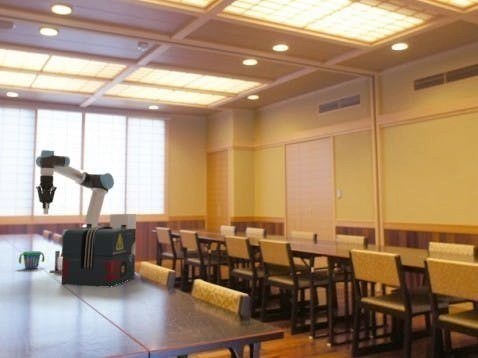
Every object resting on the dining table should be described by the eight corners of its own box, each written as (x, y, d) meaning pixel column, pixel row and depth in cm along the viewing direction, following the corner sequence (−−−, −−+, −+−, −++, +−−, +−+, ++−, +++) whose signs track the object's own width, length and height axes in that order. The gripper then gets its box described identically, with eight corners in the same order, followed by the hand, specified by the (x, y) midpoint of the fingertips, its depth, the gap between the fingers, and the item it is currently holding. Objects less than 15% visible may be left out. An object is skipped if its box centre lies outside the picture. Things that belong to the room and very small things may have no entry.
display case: (108, 274, 278) (110, 214, 280) (117, 271, 288) (118, 213, 290) (126, 275, 275) (128, 214, 277) (134, 272, 286) (136, 214, 288)
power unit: (111, 287, 236) (113, 226, 238) (61, 284, 242) (63, 225, 243) (134, 278, 264) (136, 224, 265) (89, 276, 269) (90, 223, 271)
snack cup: (40, 266, 309) (41, 250, 309) (47, 268, 301) (47, 251, 302) (15, 268, 298) (16, 251, 298) (21, 270, 290) (22, 253, 291)
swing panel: (57, 269, 283) (57, 257, 283) (60, 268, 284) (60, 256, 285) (75, 272, 269) (76, 260, 269) (78, 272, 270) (79, 260, 271)
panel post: (58, 270, 290) (59, 250, 291) (66, 271, 286) (67, 250, 286) (46, 272, 284) (47, 251, 284) (54, 273, 279) (55, 251, 280)
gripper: (52, 176, 299) (51, 213, 298) (33, 174, 288) (32, 214, 287) (60, 175, 295) (58, 214, 294) (40, 174, 284) (39, 214, 283)
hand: (45, 214), depth 290 cm, fingers closed
